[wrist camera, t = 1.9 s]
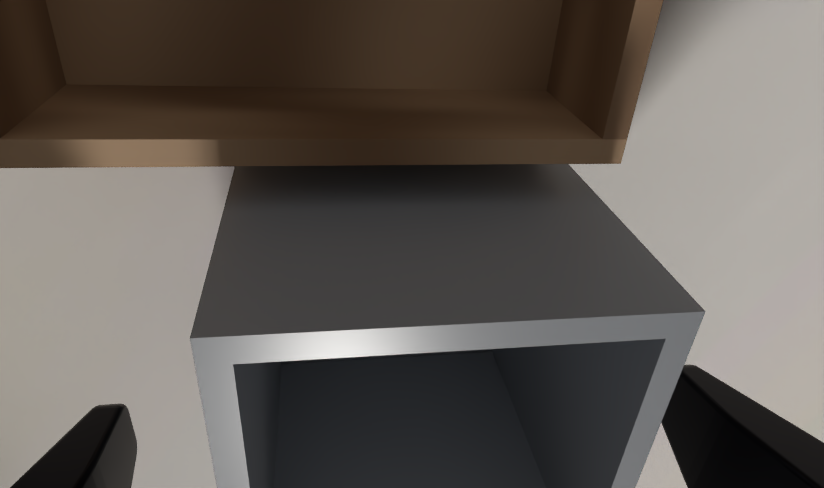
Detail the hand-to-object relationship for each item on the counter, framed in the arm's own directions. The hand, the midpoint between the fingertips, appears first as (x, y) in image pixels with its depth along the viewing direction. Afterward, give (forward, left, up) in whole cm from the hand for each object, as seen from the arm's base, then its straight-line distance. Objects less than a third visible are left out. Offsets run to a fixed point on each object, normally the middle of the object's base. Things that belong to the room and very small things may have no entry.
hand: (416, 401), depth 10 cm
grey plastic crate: (0, 0, -4) cm, 4 cm away
